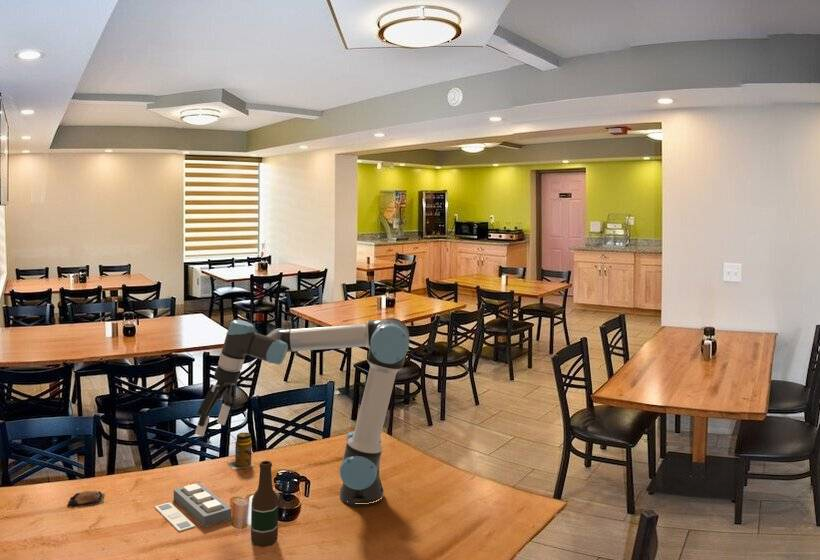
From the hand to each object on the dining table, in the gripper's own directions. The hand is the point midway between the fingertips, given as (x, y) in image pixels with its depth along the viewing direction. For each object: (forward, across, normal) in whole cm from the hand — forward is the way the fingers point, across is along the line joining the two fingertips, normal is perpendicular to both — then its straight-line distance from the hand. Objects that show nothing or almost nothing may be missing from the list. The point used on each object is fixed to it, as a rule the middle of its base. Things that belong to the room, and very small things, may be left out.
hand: (210, 429), depth 202 cm
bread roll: (+37, +5, -32) cm, 49 cm away
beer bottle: (+20, +13, +32) cm, 40 cm away
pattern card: (+28, +7, 0) cm, 29 cm away
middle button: (+24, 0, +5) cm, 24 cm away
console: (+26, 0, +5) cm, 27 cm away
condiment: (+26, -37, 0) cm, 45 cm away
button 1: (+25, -4, -1) cm, 26 cm away
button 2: (+23, +5, +11) cm, 25 cm away
